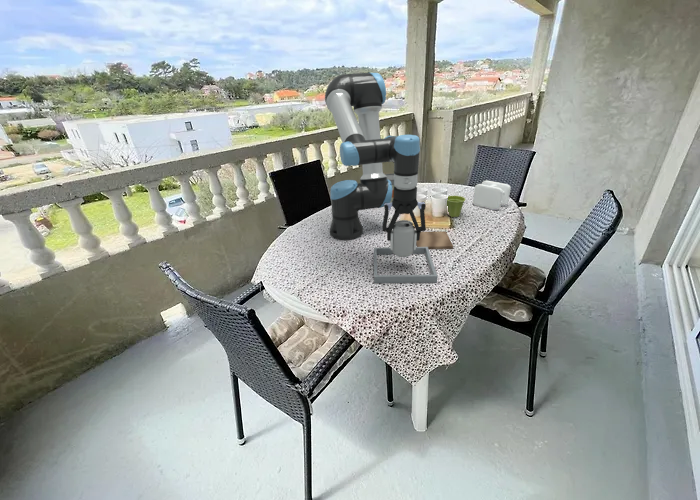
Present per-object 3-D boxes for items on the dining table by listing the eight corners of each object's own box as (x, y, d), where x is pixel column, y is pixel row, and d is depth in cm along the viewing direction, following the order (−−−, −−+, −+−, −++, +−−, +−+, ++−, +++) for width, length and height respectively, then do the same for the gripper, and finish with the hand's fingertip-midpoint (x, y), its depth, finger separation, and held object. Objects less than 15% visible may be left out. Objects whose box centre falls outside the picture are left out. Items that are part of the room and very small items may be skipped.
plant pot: (448, 210, 160) (449, 194, 156) (466, 214, 155) (468, 197, 151) (440, 216, 154) (441, 199, 150) (458, 220, 149) (460, 203, 145)
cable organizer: (470, 204, 166) (473, 183, 160) (481, 199, 172) (484, 179, 166) (497, 211, 155) (502, 189, 150) (508, 206, 161) (512, 184, 156)
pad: (417, 249, 126) (417, 246, 125) (413, 234, 138) (413, 232, 137) (452, 248, 125) (453, 246, 124) (445, 233, 137) (445, 231, 136)
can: (412, 259, 109) (414, 228, 103) (391, 258, 110) (391, 227, 104) (413, 248, 115) (415, 219, 109) (393, 247, 117) (393, 218, 111)
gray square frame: (374, 283, 106) (374, 276, 105) (374, 253, 125) (373, 247, 124) (437, 282, 105) (437, 276, 104) (427, 252, 123) (427, 246, 122)
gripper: (373, 190, 98) (374, 253, 109) (439, 189, 96) (433, 253, 108) (373, 183, 104) (374, 243, 116) (435, 181, 103) (429, 242, 114)
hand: (402, 248), depth 112 cm, fingers closed on can, 7 cm apart
